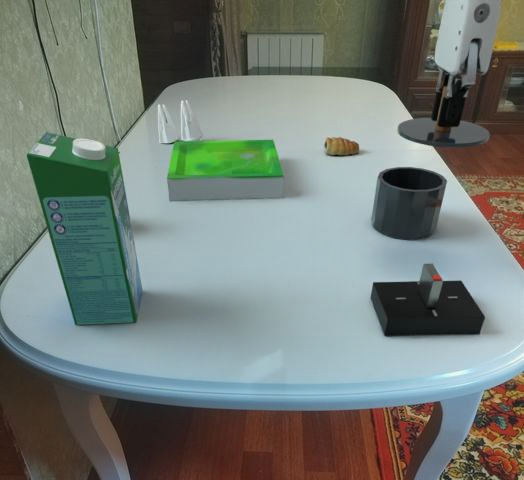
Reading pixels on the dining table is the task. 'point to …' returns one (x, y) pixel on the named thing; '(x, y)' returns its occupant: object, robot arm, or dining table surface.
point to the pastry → (340, 146)
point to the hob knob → (430, 285)
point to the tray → (225, 170)
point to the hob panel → (425, 310)
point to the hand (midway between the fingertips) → (444, 122)
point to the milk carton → (88, 227)
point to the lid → (443, 132)
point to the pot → (408, 202)
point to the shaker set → (188, 125)
